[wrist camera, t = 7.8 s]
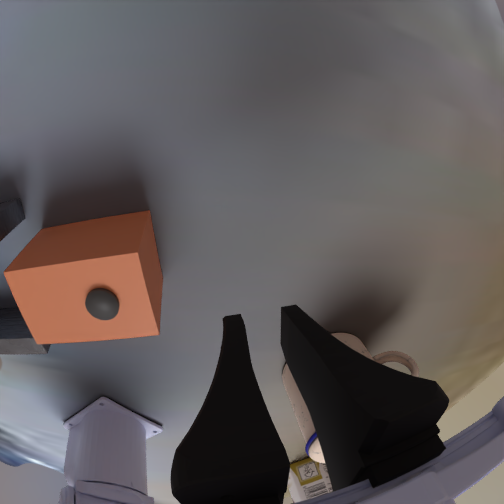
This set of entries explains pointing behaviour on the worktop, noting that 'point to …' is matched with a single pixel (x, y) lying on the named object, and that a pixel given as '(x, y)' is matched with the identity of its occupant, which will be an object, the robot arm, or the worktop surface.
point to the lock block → (90, 280)
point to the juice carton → (308, 480)
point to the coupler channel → (10, 319)
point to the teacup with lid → (300, 407)
